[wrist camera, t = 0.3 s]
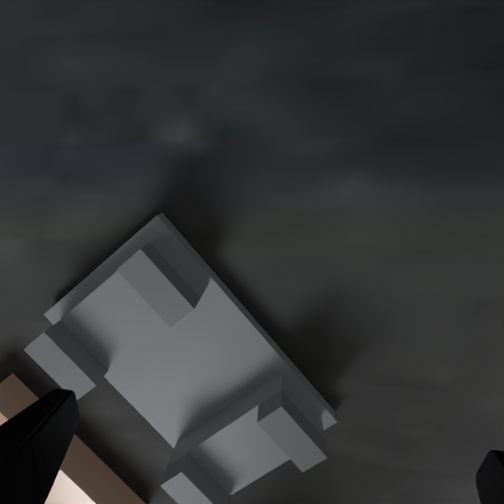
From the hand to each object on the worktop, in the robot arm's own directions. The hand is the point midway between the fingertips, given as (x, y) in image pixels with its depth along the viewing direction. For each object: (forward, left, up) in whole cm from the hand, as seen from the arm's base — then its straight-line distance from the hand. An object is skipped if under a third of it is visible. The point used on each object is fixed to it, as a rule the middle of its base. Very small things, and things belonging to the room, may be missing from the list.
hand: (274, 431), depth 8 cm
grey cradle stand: (-9, -2, -15) cm, 18 cm away
